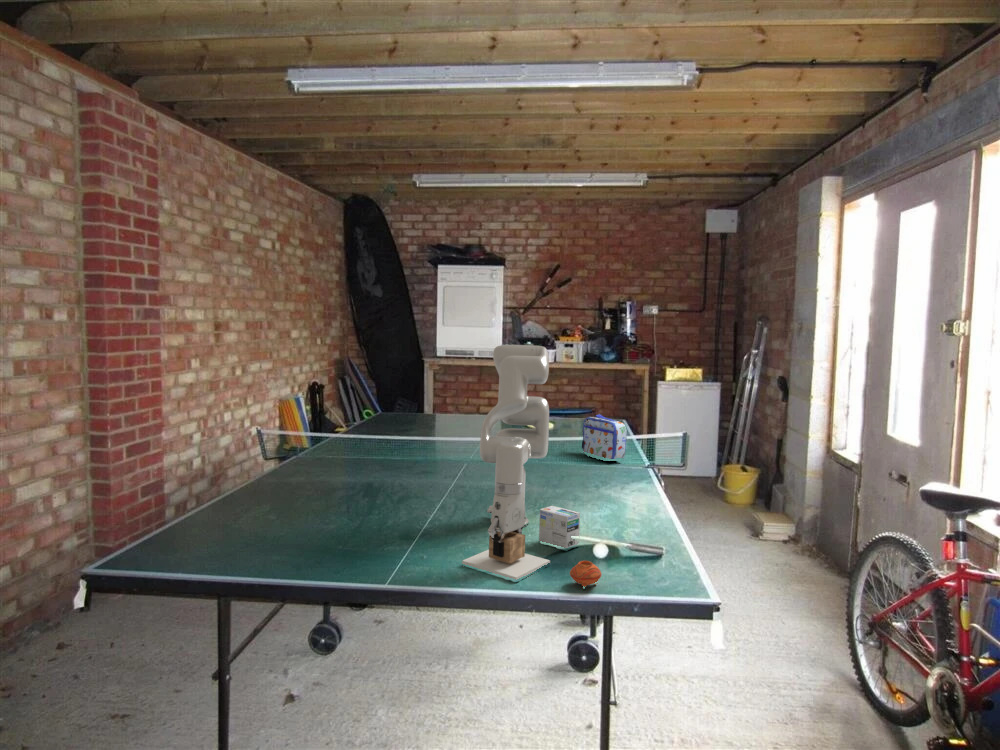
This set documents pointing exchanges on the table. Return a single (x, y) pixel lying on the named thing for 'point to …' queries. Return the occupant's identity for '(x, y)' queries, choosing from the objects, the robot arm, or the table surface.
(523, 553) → the oak collar
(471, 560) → the plate
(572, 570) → the pot
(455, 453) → the table surface
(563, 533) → the light bulb box
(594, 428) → the lunch box
